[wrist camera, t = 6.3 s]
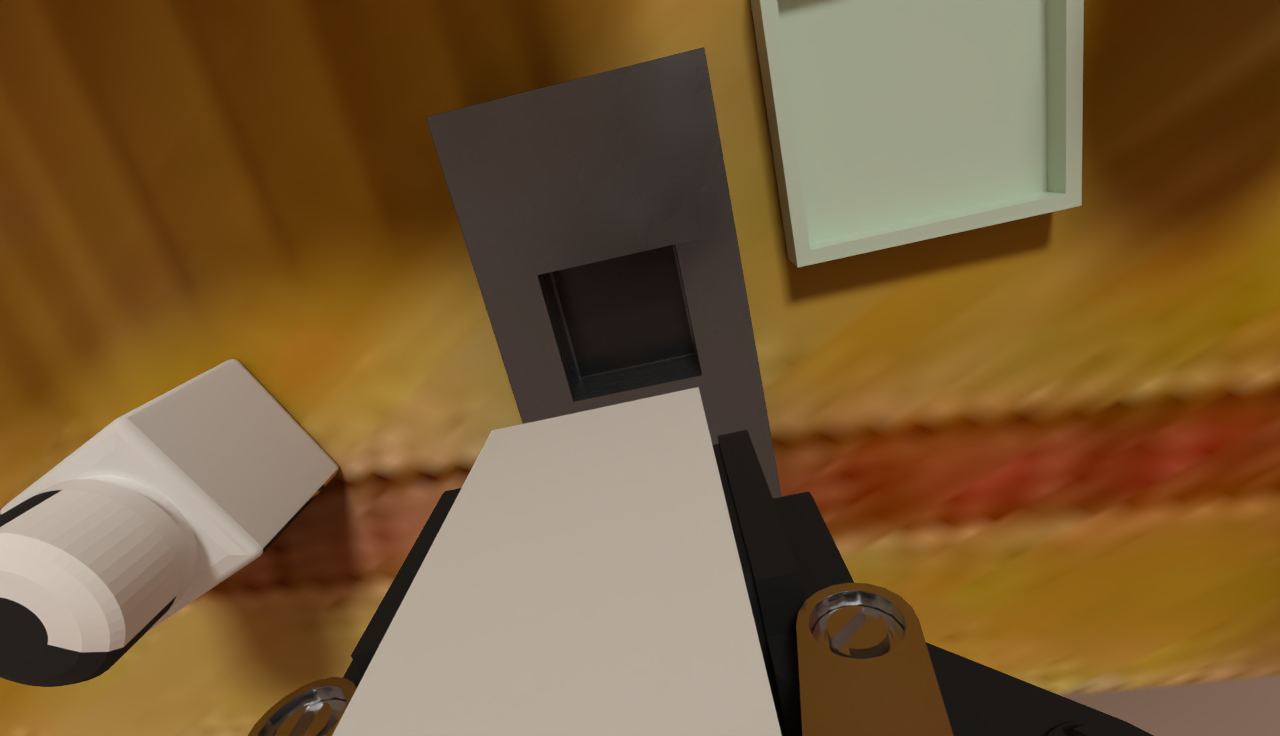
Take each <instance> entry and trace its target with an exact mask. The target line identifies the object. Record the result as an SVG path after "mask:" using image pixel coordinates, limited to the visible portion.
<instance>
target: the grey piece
mask: <svg viewBox="0 0 1280 736" xmlns="http://www.w3.org/2000/svg"><path fill="white" fill-rule="evenodd" d="M426 119H427V122H428V126H429V129H430V132H431V135H432V138H433V141H434V145H435V148H436V151H437V154H438V157H439V160H440V163H441V167H442V170H443V173H444V176H445V179H446V182H447V186H448V189H449V192H450V195H451V198H452V201H453V204H454V208H455V211H456V214H457V217H458V220H459V223H460V227H461V230H462V233H463V236H464V239H465V242H466V245H467V249H468V252H469V255H470V258H471V261H472V264H473V268H474V271H475V274H476V277H477V280H478V283H479V286H480V290H481V293H482V296H483V299H484V302H485V305H486V309H487V312H488V315H489V318H490V321H491V324H492V327H493V331H494V334H495V337H496V340H497V343H498V346H499V350H500V353H501V356H502V359H503V362H504V365H505V368H506V372H507V375H508V378H509V381H510V384H511V387H512V391H513V394H514V397H515V400H516V403H517V406H518V409H519V413H520V416H521V419H522V422H523V424H525V423H530V422H535V421H540V420H544V419H549V418H554V417H559V416H563V415H568V414H573V413H578V412H582V411H587V410H592V409H597V408H601V407H606V406H611V405H615V404H620V403H625V402H630V401H634V400H639V399H644V398H649V397H653V396H658V395H663V394H668V393H672V392H677V391H682V390H687V389H691V388H696V387H699V391H700V395H701V399H702V404H703V408H704V412H705V416H706V420H707V425H708V429H709V433H710V437H711V441H712V445H715V444H719V443H718V437H717V436H719V435H724V434H729V433H734V432H739V431H743V430H747V431H748V433H749V436H750V438H751V441H752V444H753V447H754V449H755V452H756V455H757V457H758V460H759V463H760V465H761V468H762V471H763V473H764V476H765V479H766V482H767V484H768V487H769V490H770V492H771V495H772V498H778V497H781V491H780V486H779V480H778V474H777V468H776V462H775V456H774V451H773V445H772V439H771V433H770V427H769V422H768V416H767V410H766V404H765V398H764V392H763V387H762V381H761V375H760V369H759V363H758V358H757V352H756V346H755V340H754V334H753V328H752V323H751V317H750V311H749V305H748V299H747V294H746V288H745V282H744V276H743V270H742V264H741V259H740V253H739V247H738V241H737V235H736V230H735V224H734V218H733V212H732V206H731V201H730V195H729V189H728V183H727V177H726V171H725V166H724V160H723V154H722V148H721V142H720V137H719V131H718V125H717V119H716V113H715V107H714V102H713V96H712V90H711V84H710V78H709V73H708V67H707V61H706V55H705V49H704V47H703V48H699V49H695V50H691V51H687V52H683V53H679V54H675V55H671V56H667V57H663V58H659V59H655V60H651V61H647V62H643V63H639V64H635V65H631V66H627V67H623V68H619V69H615V70H611V71H607V72H603V73H599V74H595V75H591V76H588V77H584V78H580V79H576V80H572V81H568V82H564V83H560V84H556V85H552V86H548V87H544V88H540V89H536V90H532V91H528V92H524V93H520V94H516V95H512V96H508V97H504V98H500V99H496V100H492V101H488V102H484V103H480V104H476V105H472V106H468V107H464V108H460V109H456V110H452V111H448V112H444V113H440V114H436V115H432V116H428V117H426Z"/></svg>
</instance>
